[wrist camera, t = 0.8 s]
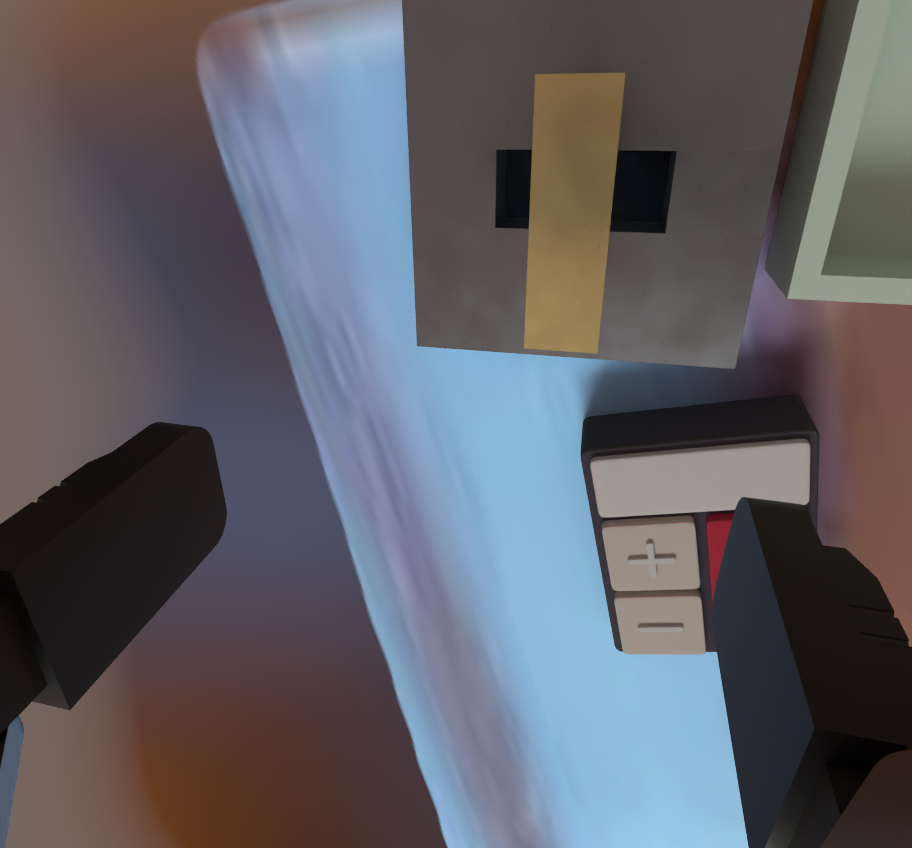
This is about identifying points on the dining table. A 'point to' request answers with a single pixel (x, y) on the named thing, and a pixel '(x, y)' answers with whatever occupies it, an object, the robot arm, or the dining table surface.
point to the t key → (570, 207)
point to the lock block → (641, 129)
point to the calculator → (685, 506)
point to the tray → (851, 162)
